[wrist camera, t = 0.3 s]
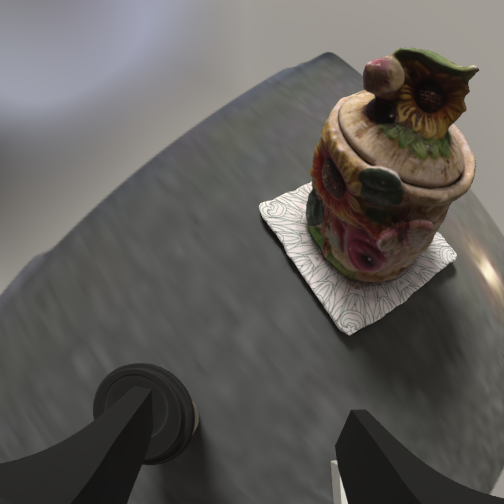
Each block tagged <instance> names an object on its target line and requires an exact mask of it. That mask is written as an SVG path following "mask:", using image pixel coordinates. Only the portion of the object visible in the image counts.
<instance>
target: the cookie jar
mask: <svg viewBox="0 0 504 504" xmlns="http://www.w3.org/2000/svg"><path fill="white" fill-rule="evenodd" d="M478 71H479V69H478V67H476V66H474V65H471V66H467V67H463V66H458V65H456V64H455V63H453V62H451V61H449V60H448V59H446V58H444V57H443V56H441V55H439V54H437V53H435V52H432V51H428V50H422V49H416V48H400V49H398V50H396V51H395V52H394V53H393V54H392V55H390V56H385V57H382V58H380V59H375V60H372V61H370V62H368V63H367V64H366V66H365V69H364V72H363V87H364V89H365V90H364V91H360V92H358V93H356V94H353V95H351V96H348V97H344V98H342V99H340V100H339V101H338V103H337V104H336V106H335V107H334V108H333V110H332V111H331V113H330V115H329V117H328V119H327V120H326V122H325V124H324V126H323V130H322V137H321V139H320V141H319V143H318V144H317V145H316V148H315V152H314V157H313V166H312V168H311V169H310V174H311V176H312V177H313V179H312V181H311V182H310V183H309V184H306V185H304V186H301V187H299V188H298V189H297V190H295V191H293V192H291V191H290V192H287V193H286V194H283V195H281V196H279V197H277V198H275V199H274V200H272V201H266V202H262V203H261V204H260V206H259V210H260V213H261V215H262V217H263V219H264V220H265V221H266V222H267V224H268V225H269V227H270V228H271V229H272V230H273V232H274V233H275V234H276V235H277V237H278V238H279V240H280V241H281V243H282V244H283V245H284V249H285V251H286V254H287V255H288V256H289V257H290V259H291V260H292V261H293V262H294V264H295V265H296V267H297V268H298V270H299V271H300V273H301V274H302V276H303V278H304V279H305V280H306V282H307V283H308V285H309V286H310V287H311V289H312V290H313V292H314V293H315V295H316V296H317V298H318V299H319V300H320V302H321V303H322V305H323V306H324V308H325V309H326V311H327V312H328V313H329V315H330V317H331V318H332V320H333V322H334V323H335V325H336V326H337V327H338V329H339V330H341V331H343V332H344V333H346V334H348V335H351V334H353V333H354V332H356V331H358V330H360V329H362V328H363V327H365V326H367V325H370V324H372V323H374V322H376V321H377V320H379V319H381V318H382V317H384V316H385V315H386V313H389V312H391V311H392V310H393V309H394V308H395V307H396V306H398V305H400V304H402V303H404V302H405V301H407V299H408V298H409V297H410V296H411V295H412V293H413V292H415V291H417V290H418V289H419V288H420V287H422V286H423V285H424V284H425V283H426V282H428V281H429V280H430V279H431V278H432V277H433V276H434V275H435V274H436V273H438V272H439V271H441V270H442V269H443V268H444V267H446V266H447V265H448V264H449V263H452V262H454V261H455V260H456V257H457V254H456V253H455V252H454V250H453V249H452V247H451V246H450V245H448V244H447V243H446V240H445V239H444V237H442V235H441V234H440V233H438V232H437V230H438V229H439V227H440V225H441V224H442V222H443V221H444V219H445V217H446V214H447V211H448V208H449V206H450V204H451V203H452V202H453V201H455V200H457V199H458V198H460V197H461V196H462V195H464V194H465V193H466V192H467V191H468V189H469V188H470V186H471V184H472V182H473V179H474V176H475V175H474V174H475V168H476V162H475V157H474V155H473V153H472V151H471V149H470V147H469V145H468V143H467V140H466V138H465V137H464V135H463V134H462V133H461V132H460V131H459V129H458V128H457V127H456V126H455V125H454V124H453V123H454V122H455V121H456V120H457V119H458V118H459V117H460V116H461V114H462V113H463V112H465V111H466V105H465V102H464V98H465V96H466V95H467V94H468V93H469V92H470V90H469V87H468V82H469V80H470V79H471V78H472V77H473V76H474V75H475V73H476V72H478Z"/></svg>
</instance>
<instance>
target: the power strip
mask: <svg viewBox="0 0 504 504" xmlns="http://www.w3.org/2000/svg"><path fill="white" fill-rule="evenodd" d="M331 472H332V487H333V503H334V504H348V502H347V498H346V495H345V491H344V488H343V484H342V481H341V477H340V473H339V470H338V464H337V460H334V461H331Z"/></svg>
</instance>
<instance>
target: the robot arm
mask: <svg viewBox="0 0 504 504" xmlns="http://www.w3.org/2000/svg"><path fill="white" fill-rule="evenodd" d="M152 431H153V412H152V389H147V388H143V387H138V386H134V387H133V388H132V389H131V390H129V391H128V392H127V393H126V394H125V395H124V396H123V397H122V398H121V399H120V400H119V401H117V402H116V403H115V404H114V405H113V406H112V407H111V408H109V409H108V410H107V411H106V412H104V413H103V414H102V415H101V416H100V417H98V418H97V419H96V420H94V421H93V422H92V423H90V424H89V425H87V426H86V427H85V428H83V429H82V430H80V431H79V432H77V433H76V434H74V435H72V436H71V437H69V438H67V439H66V440H64V441H62V442H60V443H58V444H56V445H54V446H52V447H50V448H48V449H46V450H43V451H41V452H39V453H36V454H33V455H30V456H27V457H24V458H21V459H18V460H14V461H11V462H6V463H1V464H0V504H127V502H128V499H129V496H130V493H131V491H132V488H133V486H134V483H135V481H136V478H137V476H138V473H139V471H140V468H141V466H142V463H143V461H144V458H145V456H146V453H147V451H148V447H149V443H150V439H151V435H152ZM335 448H336V457H337V464H338V470H339V473H340V477H341V481H342V484H343V488H344V491H345V495H346V498H347V502H348V504H504V498H499V497H496V496H492V495H488V494H484V493H481V492H478V491H476V490H473V489H470V488H468V487H466V486H463V485H461V484H459V483H457V482H455V481H453V480H451V479H449V478H447V477H445V476H444V475H442V474H440V473H439V472H437V471H436V470H434V469H433V468H431V467H430V466H428V465H427V464H425V463H424V462H422V461H421V460H420V459H419V458H417V457H416V456H415V455H414V454H412V453H411V452H410V451H409V450H408V449H407V448H405V447H404V446H403V445H402V444H401V443H400V442H399V441H398V440H397V439H396V438H394V437H393V436H392V435H391V434H390V433H389V432H388V431H387V430H386V429H385V428H384V427H383V426H382V425H381V424H380V423H379V422H378V421H377V420H376V419H375V418H374V417H373V416H372V415H371V414H370V413H369V412H368V411H367V410H351V411H350V414H349V416H348V418H347V421H346V423H345V425H344V427H343V430H342V432H341V434H340V436H339V439H338V441H337V443H336V445H335Z"/></svg>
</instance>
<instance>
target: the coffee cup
mask: <svg viewBox="0 0 504 504" xmlns="http://www.w3.org/2000/svg"><path fill="white" fill-rule="evenodd" d="M134 386H138V387H143V388H147V389H152V412H153V431H152V435H151V439H150V443H149V447H148V451H147V453H146V456H145V458H144V461H143V463H142V464H143V465H156V464H162V463H165V462H168V461H170V460H172V459H173V458H175V457H176V456H178V455H179V454H180V453H181V452H182V451H183V450H184V449H185V448H186V446H187V445H188V443H189V442H190V440H191V438H192V435H193V433H194V432H195V430H196V428H197V426H198V423H199V413H198V409H197V407H196V405H195V403H194V402H193V400H192V399H191V397H190V395H189V393H188V391H187V389H186V388H185V386H184V385H183V384H182V383H181V381H180V380H179V379H178V378H177V377H175V376H174V375H173V374H172V373H170V372H169V371H167V370H165V369H163V368H161V367H159V366H156V365H152V364H145V363H135V364H128V365H124V366H122V367H119V368H117V369H115V370H114V371H112V372H111V373H110V374H108V375H107V376H106V377H105V378H104V380H103V381H102V382H101V384H100V385H99V387H98V389H97V392H96V394H95V398H94V403H93V416H94V420H96V419H97V418H98V417H100V416H101V415H102V414H103V413H104V412H106V411H107V410H108V409H109V408H111V407H112V406H113V405H114V404H115V403H116V402H117V401H119V400H120V399H121V398H122V397H123V396H124V395H125V394H126V393H127V392H128V391H129V390H131V389H132V388H133V387H134Z"/></svg>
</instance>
